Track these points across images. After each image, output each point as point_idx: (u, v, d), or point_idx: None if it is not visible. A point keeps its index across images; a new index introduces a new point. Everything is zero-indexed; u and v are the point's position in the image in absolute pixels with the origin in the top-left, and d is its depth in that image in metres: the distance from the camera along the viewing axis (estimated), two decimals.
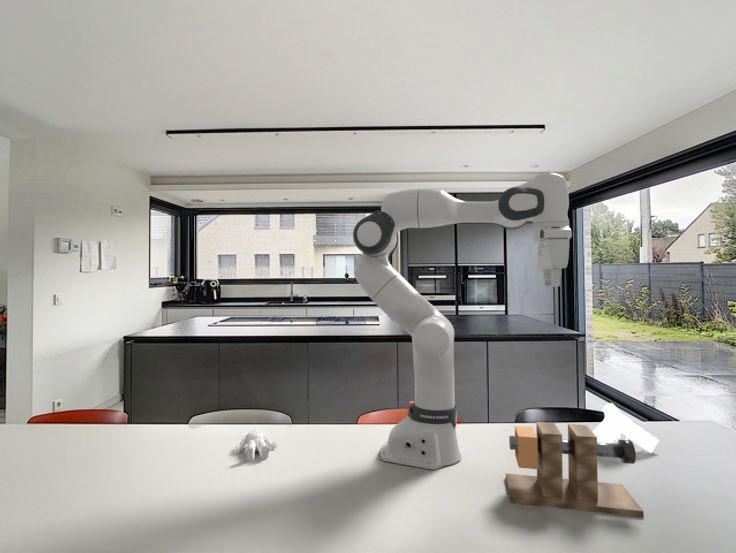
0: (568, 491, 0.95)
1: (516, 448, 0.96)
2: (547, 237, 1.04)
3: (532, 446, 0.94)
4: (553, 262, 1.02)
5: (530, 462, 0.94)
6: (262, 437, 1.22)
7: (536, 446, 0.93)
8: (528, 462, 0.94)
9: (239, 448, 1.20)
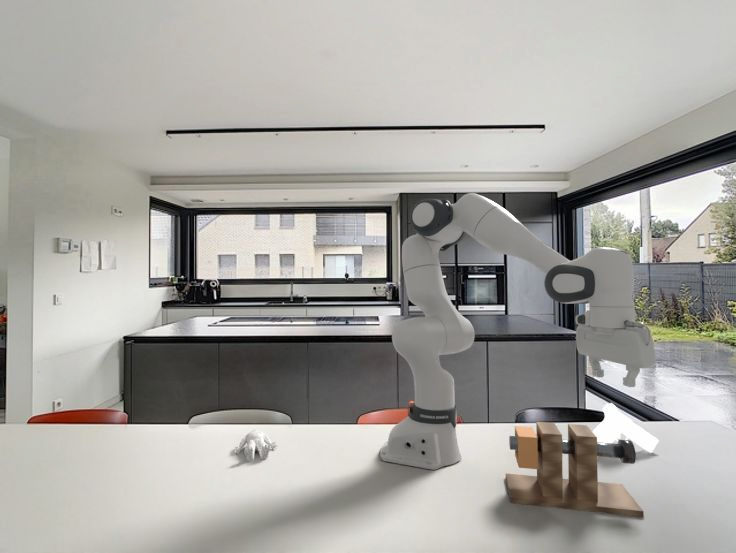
0: (568, 491, 0.95)
1: (516, 448, 0.96)
2: None
3: (532, 446, 0.94)
4: None
5: (530, 462, 0.94)
6: (262, 437, 1.22)
7: (536, 446, 0.93)
8: (528, 462, 0.94)
9: (239, 448, 1.20)
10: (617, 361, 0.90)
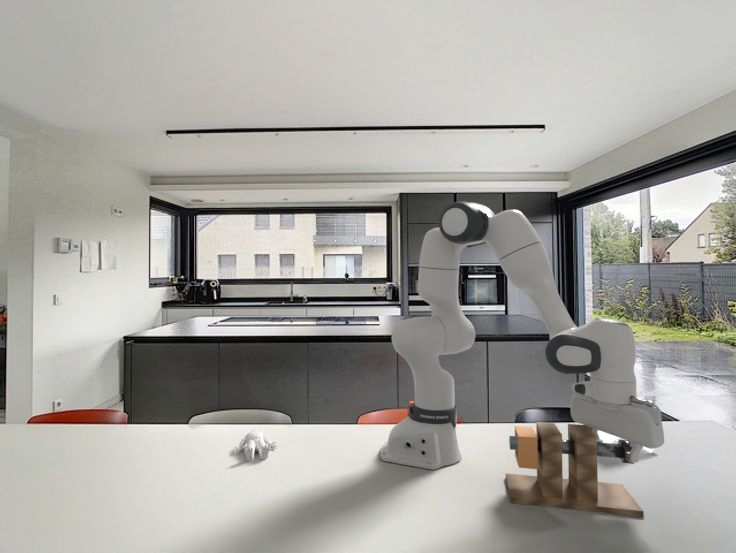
0: (568, 491, 0.95)
1: (516, 448, 0.96)
2: None
3: (532, 446, 0.94)
4: None
5: (530, 462, 0.94)
6: (262, 437, 1.22)
7: (536, 446, 0.93)
8: (528, 462, 0.94)
9: (239, 448, 1.20)
10: (623, 437, 0.89)
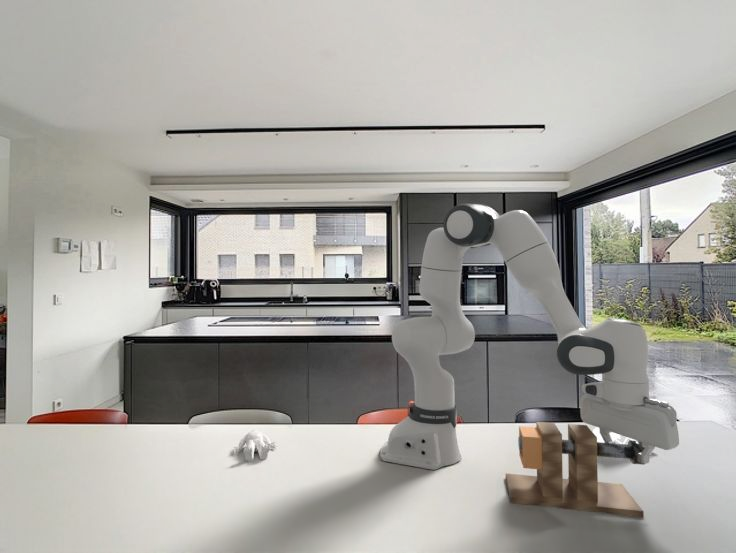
0: (568, 491, 0.95)
1: None
2: None
3: (537, 447, 0.93)
4: None
5: (535, 462, 0.93)
6: (261, 437, 1.22)
7: (541, 446, 0.93)
8: (533, 462, 0.94)
9: (238, 448, 1.20)
10: (636, 438, 0.88)
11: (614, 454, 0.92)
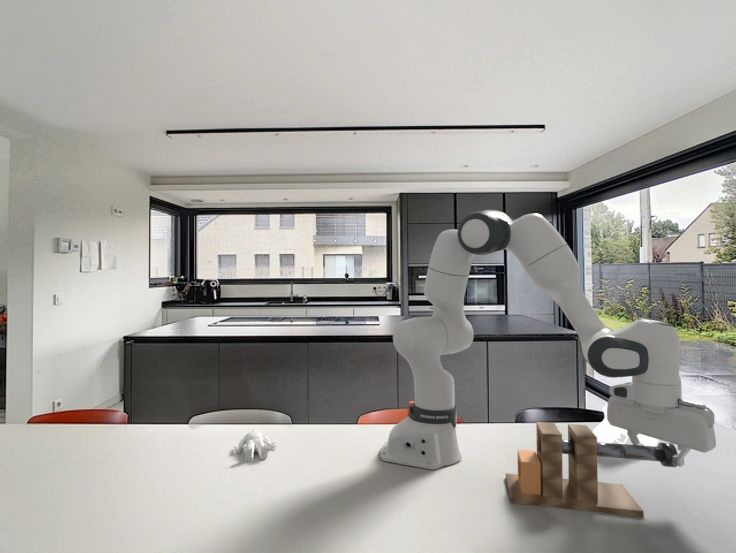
0: (568, 491, 0.95)
1: None
2: None
3: (535, 472, 0.93)
4: None
5: (533, 488, 0.93)
6: (261, 437, 1.22)
7: (539, 472, 0.93)
8: (531, 488, 0.93)
9: (238, 448, 1.19)
10: (671, 441, 0.87)
11: (645, 456, 0.90)
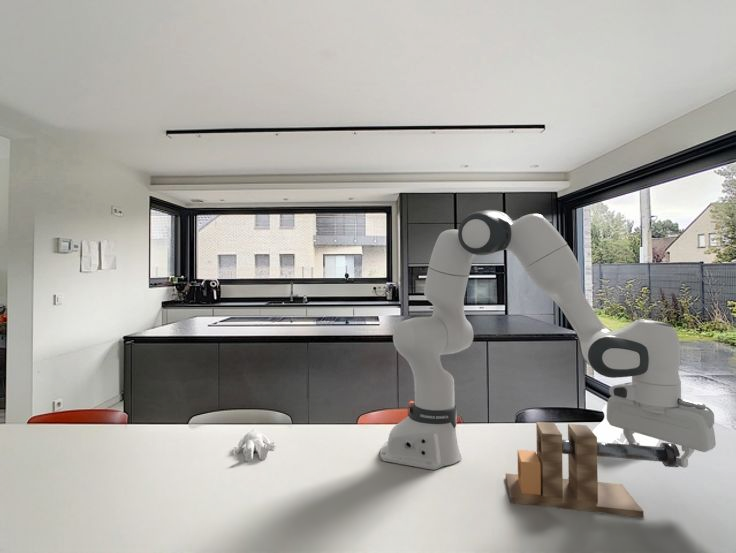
0: (568, 491, 0.95)
1: None
2: None
3: (535, 472, 0.93)
4: None
5: (533, 488, 0.93)
6: (261, 437, 1.22)
7: (539, 472, 0.93)
8: (531, 488, 0.93)
9: (238, 448, 1.19)
10: (671, 441, 0.87)
11: (647, 457, 0.90)
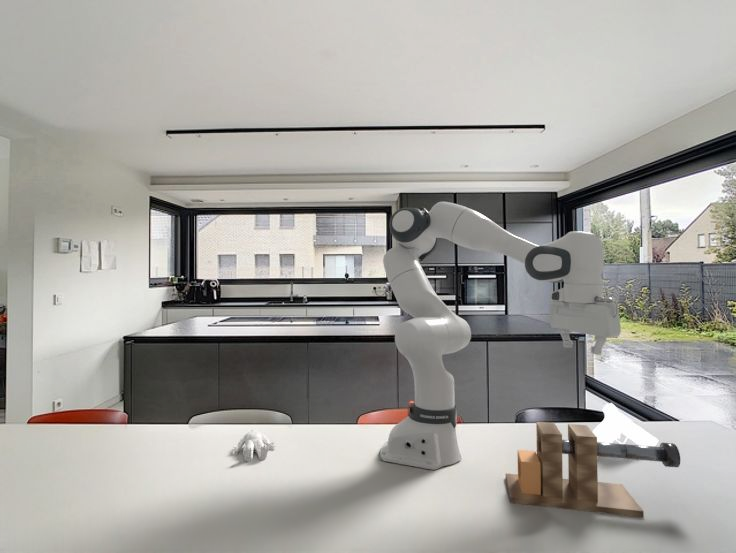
0: (568, 491, 0.95)
1: None
2: None
3: (535, 472, 0.93)
4: None
5: (533, 488, 0.93)
6: (260, 437, 1.22)
7: (539, 472, 0.93)
8: (531, 488, 0.93)
9: (237, 448, 1.19)
10: (587, 332, 1.01)
11: (647, 457, 0.90)
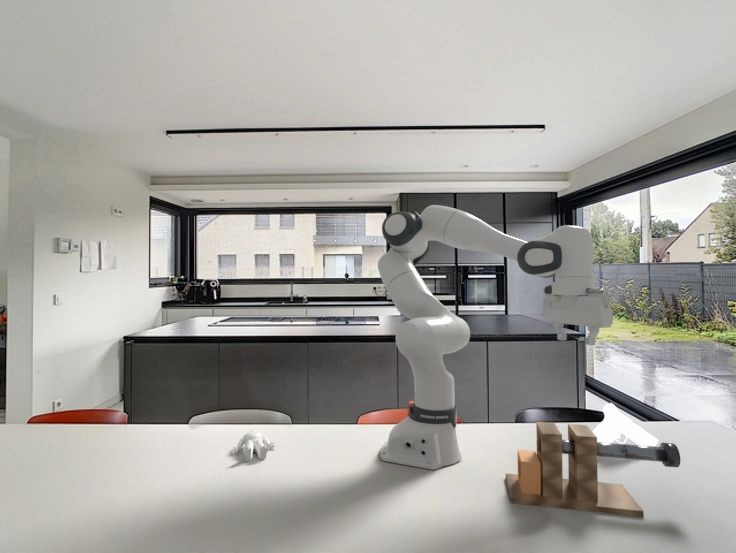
0: (568, 491, 0.95)
1: None
2: None
3: (535, 472, 0.93)
4: None
5: (533, 488, 0.93)
6: (260, 437, 1.22)
7: (539, 472, 0.93)
8: (531, 488, 0.93)
9: (237, 448, 1.19)
10: (580, 323, 1.03)
11: (647, 457, 0.90)
